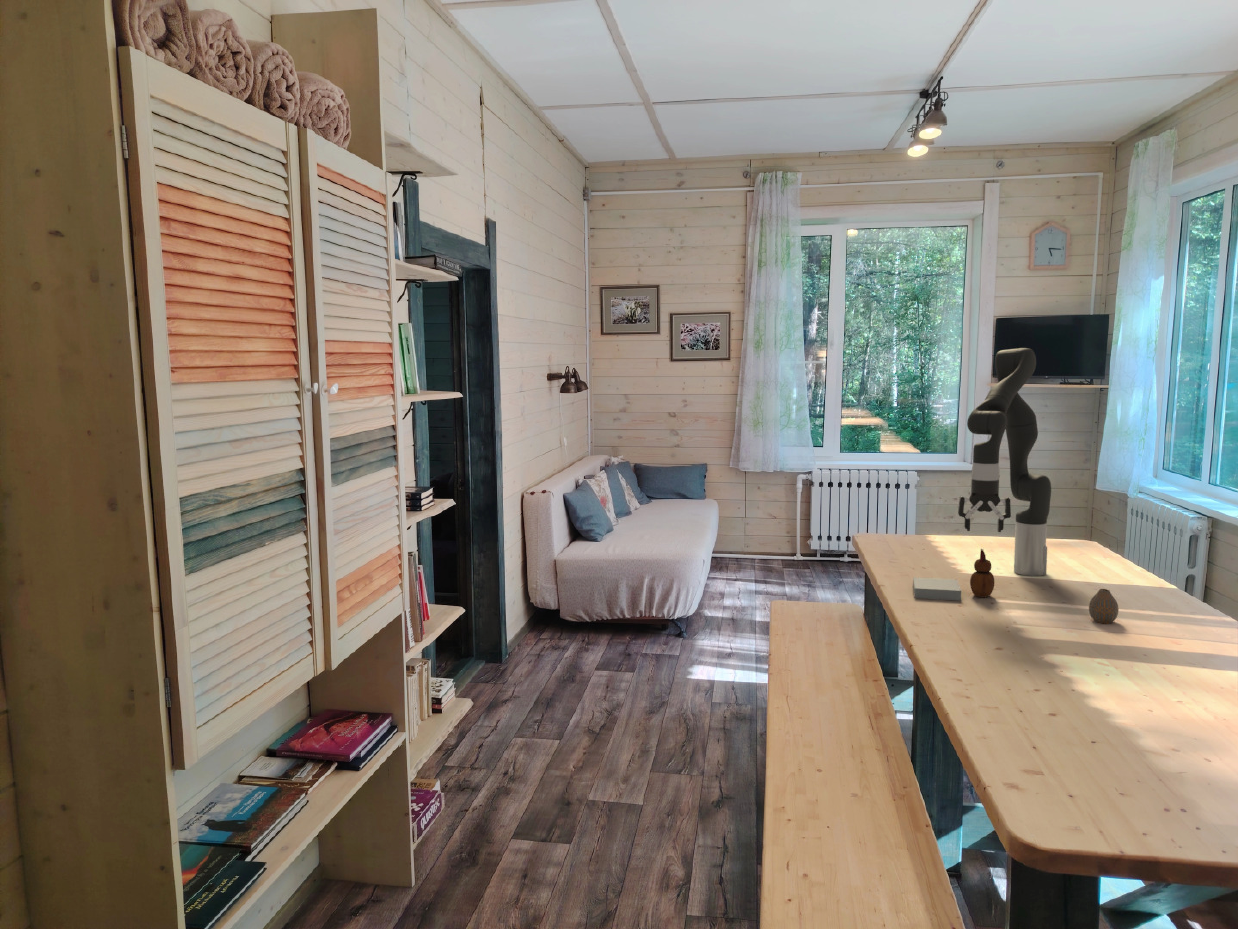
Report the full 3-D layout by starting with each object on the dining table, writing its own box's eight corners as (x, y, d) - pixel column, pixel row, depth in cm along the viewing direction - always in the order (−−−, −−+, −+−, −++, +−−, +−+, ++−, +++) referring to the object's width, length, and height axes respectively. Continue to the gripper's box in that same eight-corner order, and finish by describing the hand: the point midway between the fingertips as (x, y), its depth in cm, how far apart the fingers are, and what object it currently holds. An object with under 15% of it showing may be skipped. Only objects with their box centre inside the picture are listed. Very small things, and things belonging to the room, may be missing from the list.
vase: (1116, 619, 221) (1117, 587, 220) (1119, 626, 215) (1121, 594, 214) (1087, 616, 224) (1088, 585, 223) (1089, 623, 218) (1091, 592, 217)
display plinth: (956, 588, 254) (957, 579, 253) (960, 600, 241) (961, 590, 241) (912, 586, 257) (913, 577, 257) (914, 597, 245) (914, 588, 245)
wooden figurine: (982, 599, 241) (983, 550, 239) (966, 595, 246) (967, 547, 245) (997, 596, 244) (999, 547, 243) (981, 591, 249) (982, 544, 248)
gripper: (1009, 476, 242) (1007, 529, 244) (958, 475, 247) (956, 527, 249) (1013, 480, 235) (1011, 534, 237) (960, 479, 240) (959, 532, 242)
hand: (983, 531), depth 243 cm, fingers open, 8 cm apart
